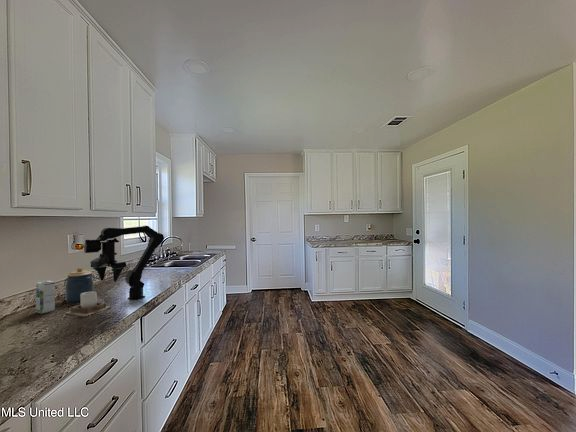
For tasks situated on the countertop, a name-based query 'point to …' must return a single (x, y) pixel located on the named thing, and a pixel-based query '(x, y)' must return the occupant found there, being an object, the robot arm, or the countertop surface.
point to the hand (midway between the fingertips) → (108, 280)
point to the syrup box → (45, 296)
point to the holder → (87, 310)
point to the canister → (78, 284)
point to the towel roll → (88, 299)
